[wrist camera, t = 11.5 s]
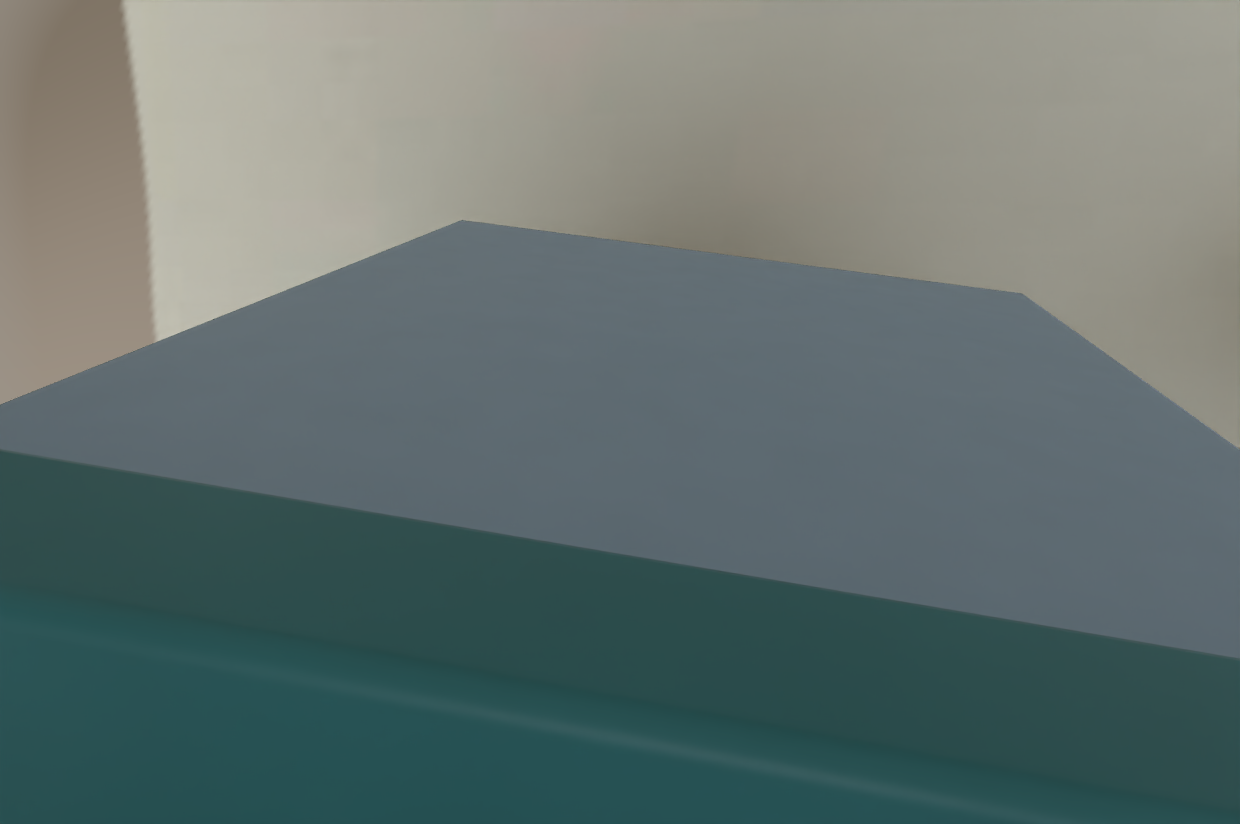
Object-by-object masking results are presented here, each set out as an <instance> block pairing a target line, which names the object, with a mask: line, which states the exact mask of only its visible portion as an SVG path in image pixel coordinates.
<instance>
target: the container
mask: <svg viewBox="0 0 1240 824" xmlns="http://www.w3.org/2000/svg"><path fill="white" fill-rule="evenodd" d="M0 824H1240V449H1238V448H1237V447H1235V446H1234V445H1233V444H1231V443H1230V442H1228V441H1227V440H1226V439H1224V438H1223V437H1221V436H1220V435H1219V434H1217V433H1216V432H1214V431H1213V430H1212V429H1210V428H1209V427H1207V426H1206V425H1205V424H1203V423H1202V422H1201V421H1199V420H1198V419H1196V418H1195V417H1194V416H1192V415H1191V414H1189V413H1188V412H1187V411H1185V410H1184V409H1182V408H1181V407H1180V406H1178V405H1177V404H1175V403H1174V402H1173V401H1171V400H1170V399H1168V398H1167V397H1166V396H1164V395H1163V394H1161V393H1160V392H1159V391H1157V390H1156V389H1155V388H1153V387H1152V386H1150V385H1149V384H1148V383H1146V382H1145V381H1143V380H1142V379H1141V378H1139V377H1138V376H1136V375H1135V374H1134V373H1132V372H1131V371H1129V370H1128V369H1127V368H1125V367H1124V366H1122V365H1121V364H1120V363H1118V362H1117V361H1115V360H1114V359H1113V358H1111V357H1110V356H1109V355H1107V354H1106V353H1104V352H1103V351H1102V350H1100V349H1099V348H1097V347H1096V346H1095V345H1093V344H1092V343H1090V342H1089V341H1088V340H1086V339H1085V338H1083V337H1082V336H1081V335H1079V334H1078V333H1076V332H1075V331H1074V330H1072V329H1071V328H1069V327H1068V326H1067V325H1065V324H1064V323H1063V322H1061V321H1060V320H1058V319H1057V318H1056V317H1054V316H1053V315H1051V314H1050V313H1049V312H1047V311H1046V310H1044V309H1043V308H1042V307H1040V306H1039V305H1037V304H1036V303H1035V302H1033V301H1032V300H1030V299H1029V298H1028V297H1026V296H1025V295H1023V294H1021V293H1014V292H1007V291H999V290H991V289H984V288H976V287H968V286H961V285H953V284H945V283H938V282H930V281H923V280H915V279H907V278H900V277H892V276H884V275H877V274H869V273H861V272H854V271H846V270H839V269H831V268H823V267H816V266H808V265H800V264H793V263H785V262H777V261H770V260H762V259H755V258H747V257H739V256H732V255H724V254H716V253H709V252H701V251H693V250H686V249H678V248H671V247H663V246H655V245H648V244H640V243H632V242H625V241H617V240H609V239H602V238H594V237H587V236H579V235H571V234H564V233H556V232H548V231H541V230H533V229H525V228H518V227H510V226H503V225H495V224H487V223H480V222H472V221H464V220H461V221H458V222H456V223H453V224H451V225H448V226H446V227H443V228H441V229H438V230H436V231H433V232H431V233H428V234H426V235H423V236H421V237H418V238H416V239H413V240H411V241H408V242H406V243H403V244H401V245H398V246H396V247H393V248H391V249H388V250H386V251H383V252H381V253H378V254H376V255H373V256H371V257H368V258H366V259H363V260H361V261H358V262H356V263H353V264H351V265H348V266H346V267H343V268H341V269H338V270H336V271H333V272H331V273H328V274H326V275H323V276H321V277H318V278H316V279H313V280H311V281H308V282H306V283H303V284H301V285H298V286H296V287H293V288H291V289H288V290H286V291H283V292H281V293H278V294H276V295H273V296H271V297H268V298H266V299H263V300H261V301H258V302H256V303H253V304H251V305H248V306H246V307H243V308H241V309H238V310H236V311H233V312H231V313H228V314H226V315H223V316H221V317H218V318H216V319H213V320H211V321H208V322H206V323H203V324H201V325H198V326H196V327H193V328H191V329H188V330H186V331H183V332H181V333H178V334H176V335H173V336H171V337H168V338H166V339H163V340H161V341H158V342H156V343H153V344H151V345H148V346H146V347H143V348H141V349H138V350H136V351H133V352H131V353H128V354H126V355H123V356H121V357H118V358H116V359H113V360H111V361H108V362H106V363H103V364H101V365H98V366H96V367H93V368H91V369H88V370H86V371H83V372H81V373H78V374H76V375H73V376H71V377H68V378H66V379H63V380H61V381H58V382H56V383H53V384H51V385H48V386H46V387H43V388H41V389H38V390H36V391H33V392H31V393H28V394H26V395H23V396H21V397H18V398H16V399H13V400H10V401H8V402H5V403H3V404H1V405H0Z"/></svg>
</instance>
